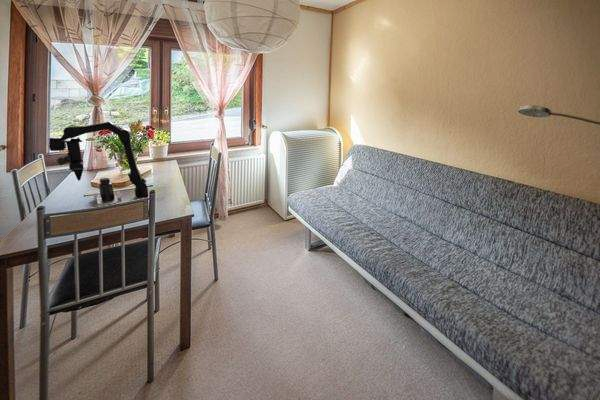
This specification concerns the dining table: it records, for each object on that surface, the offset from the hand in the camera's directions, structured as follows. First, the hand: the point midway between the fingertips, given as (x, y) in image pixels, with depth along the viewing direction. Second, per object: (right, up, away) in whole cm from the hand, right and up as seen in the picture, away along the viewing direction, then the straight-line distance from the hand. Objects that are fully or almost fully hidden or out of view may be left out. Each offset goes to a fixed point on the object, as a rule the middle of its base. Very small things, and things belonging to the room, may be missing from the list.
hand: (79, 178), depth 187 cm
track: (+13, -13, +5) cm, 19 cm away
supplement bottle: (+13, -12, +5) cm, 18 cm away
